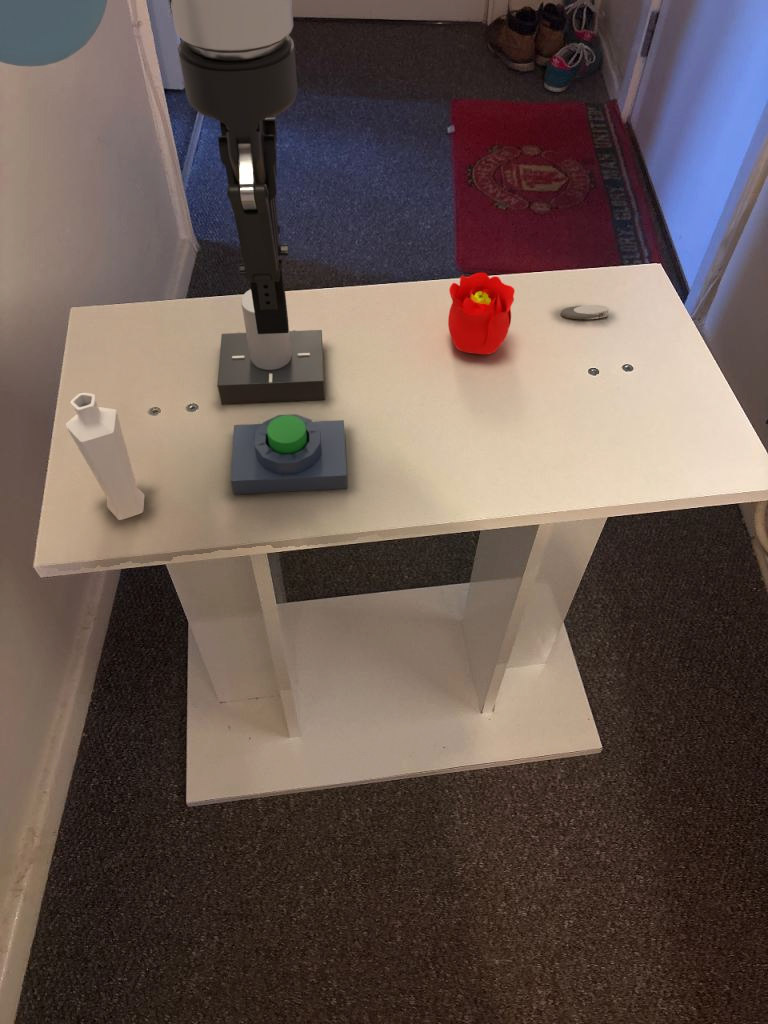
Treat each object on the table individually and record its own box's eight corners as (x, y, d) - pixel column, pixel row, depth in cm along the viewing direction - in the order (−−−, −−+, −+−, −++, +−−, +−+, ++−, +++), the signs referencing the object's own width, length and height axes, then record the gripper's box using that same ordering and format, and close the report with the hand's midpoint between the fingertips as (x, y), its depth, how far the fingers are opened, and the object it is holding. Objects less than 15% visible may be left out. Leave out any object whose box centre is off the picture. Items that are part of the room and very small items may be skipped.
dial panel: (221, 404, 87) (216, 384, 85) (225, 352, 93) (221, 332, 90) (324, 399, 88) (323, 379, 85) (322, 348, 93) (321, 328, 91)
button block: (233, 494, 79) (227, 469, 76) (236, 438, 84) (231, 413, 81) (347, 488, 80) (346, 463, 77) (344, 433, 85) (343, 408, 82)
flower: (517, 340, 95) (528, 287, 88) (487, 375, 91) (495, 321, 85) (463, 317, 97) (470, 264, 91) (432, 350, 94) (436, 296, 87)
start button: (268, 455, 78) (266, 444, 76) (269, 427, 80) (267, 415, 79) (307, 453, 78) (305, 442, 77) (306, 425, 80) (305, 414, 79)
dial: (291, 369, 87) (285, 310, 80) (249, 371, 86) (239, 311, 80) (291, 341, 89) (285, 282, 83) (251, 343, 89) (241, 284, 83)
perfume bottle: (143, 481, 80) (103, 376, 68) (154, 511, 78) (114, 407, 66) (100, 495, 79) (51, 391, 67) (109, 526, 77) (61, 423, 65)
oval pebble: (560, 322, 98) (561, 315, 97) (559, 310, 99) (560, 303, 98) (608, 321, 97) (610, 314, 96) (606, 309, 98) (607, 302, 98)
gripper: (184, -2, 52) (234, 285, 71) (166, 82, 44) (227, 380, 63) (293, -4, 53) (313, 282, 72) (293, 80, 45) (316, 376, 64)
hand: (273, 328), depth 67 cm, fingers closed
